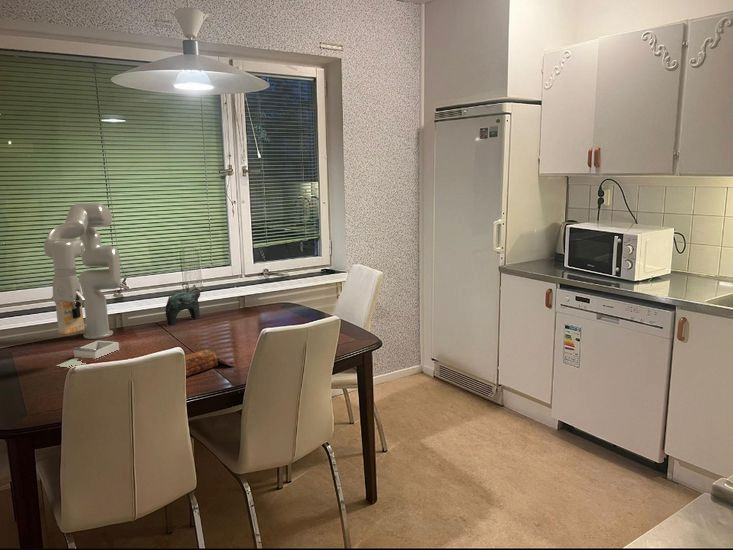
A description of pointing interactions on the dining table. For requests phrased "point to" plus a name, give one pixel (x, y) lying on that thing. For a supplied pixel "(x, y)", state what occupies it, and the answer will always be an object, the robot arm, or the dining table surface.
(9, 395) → the dining table surface
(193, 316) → the green horse figurine
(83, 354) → the white shallow tray
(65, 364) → the mat
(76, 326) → the supplement box
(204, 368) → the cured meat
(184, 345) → the dining table surface
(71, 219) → the robot arm
